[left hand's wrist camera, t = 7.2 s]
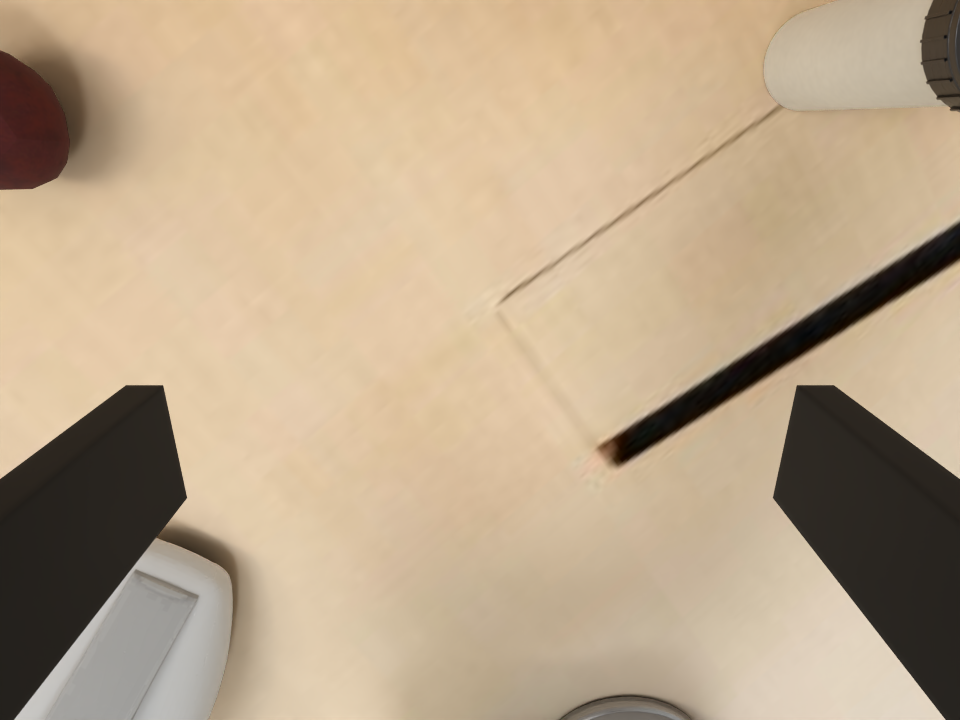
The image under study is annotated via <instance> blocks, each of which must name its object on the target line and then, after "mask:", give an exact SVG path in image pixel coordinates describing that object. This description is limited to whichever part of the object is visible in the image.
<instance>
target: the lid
mask: <svg viewBox="0 0 960 720" xmlns="http://www.w3.org/2000/svg"><path fill="white" fill-rule="evenodd" d="M924 19H925V23H924V28H923V33H922V40H920V43H921V57H922V62H921V65H923V70H924V73H925V76H926V79H927V81H926V84H929V85H930V87H931V89H932V90H933V92H934V93H935V94H936V96H937V97H936V99H937V100H941V101H942V102H943V103H944V104H946V105H947V106H949V107H950V108H951V109H950V110H951V111H958V112H960V0H933V1H932V4H931V6H930V8H929V11H928V14H927V16H925V18H924Z"/></svg>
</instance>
